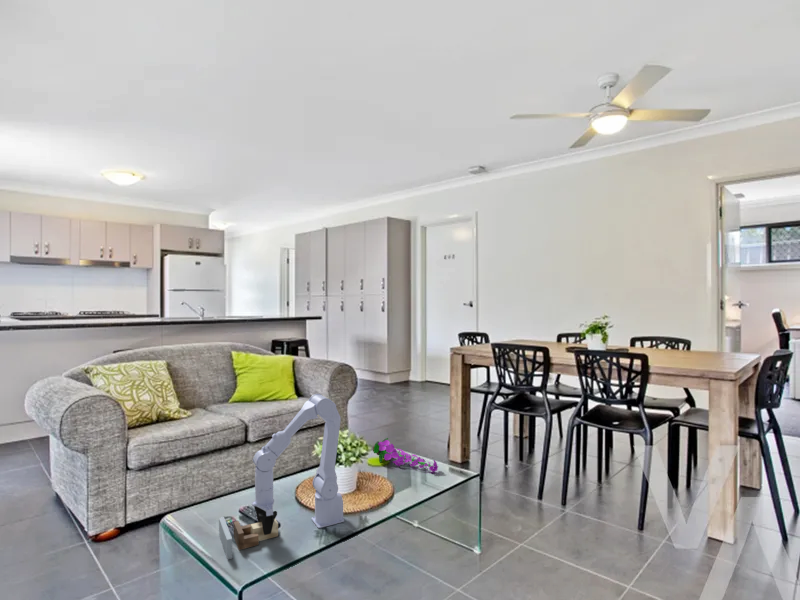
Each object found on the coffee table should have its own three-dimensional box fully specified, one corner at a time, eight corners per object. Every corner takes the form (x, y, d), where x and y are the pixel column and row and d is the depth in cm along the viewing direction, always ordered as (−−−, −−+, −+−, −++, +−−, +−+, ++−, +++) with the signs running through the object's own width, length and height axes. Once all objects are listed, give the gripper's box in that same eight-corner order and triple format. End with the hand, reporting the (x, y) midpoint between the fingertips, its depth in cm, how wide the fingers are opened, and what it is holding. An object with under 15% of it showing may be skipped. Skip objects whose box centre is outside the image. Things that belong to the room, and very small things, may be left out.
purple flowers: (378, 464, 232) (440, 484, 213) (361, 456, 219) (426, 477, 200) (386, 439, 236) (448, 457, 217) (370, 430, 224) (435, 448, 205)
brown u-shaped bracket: (252, 532, 157) (252, 517, 157) (258, 544, 149) (258, 529, 149) (233, 537, 154) (233, 521, 154) (238, 550, 146) (238, 534, 146)
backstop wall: (223, 534, 156) (223, 516, 156) (232, 558, 142) (232, 538, 142) (219, 535, 155) (218, 517, 155) (227, 559, 141) (227, 539, 141)
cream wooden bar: (275, 531, 158) (275, 518, 158) (278, 536, 155) (277, 523, 155) (250, 538, 154) (250, 524, 154) (253, 543, 151) (253, 529, 151)
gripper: (247, 482, 159) (247, 522, 159) (256, 498, 146) (257, 541, 146) (268, 478, 162) (268, 517, 162) (279, 493, 149) (279, 536, 150)
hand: (264, 528), depth 154 cm, fingers open, 7 cm apart
